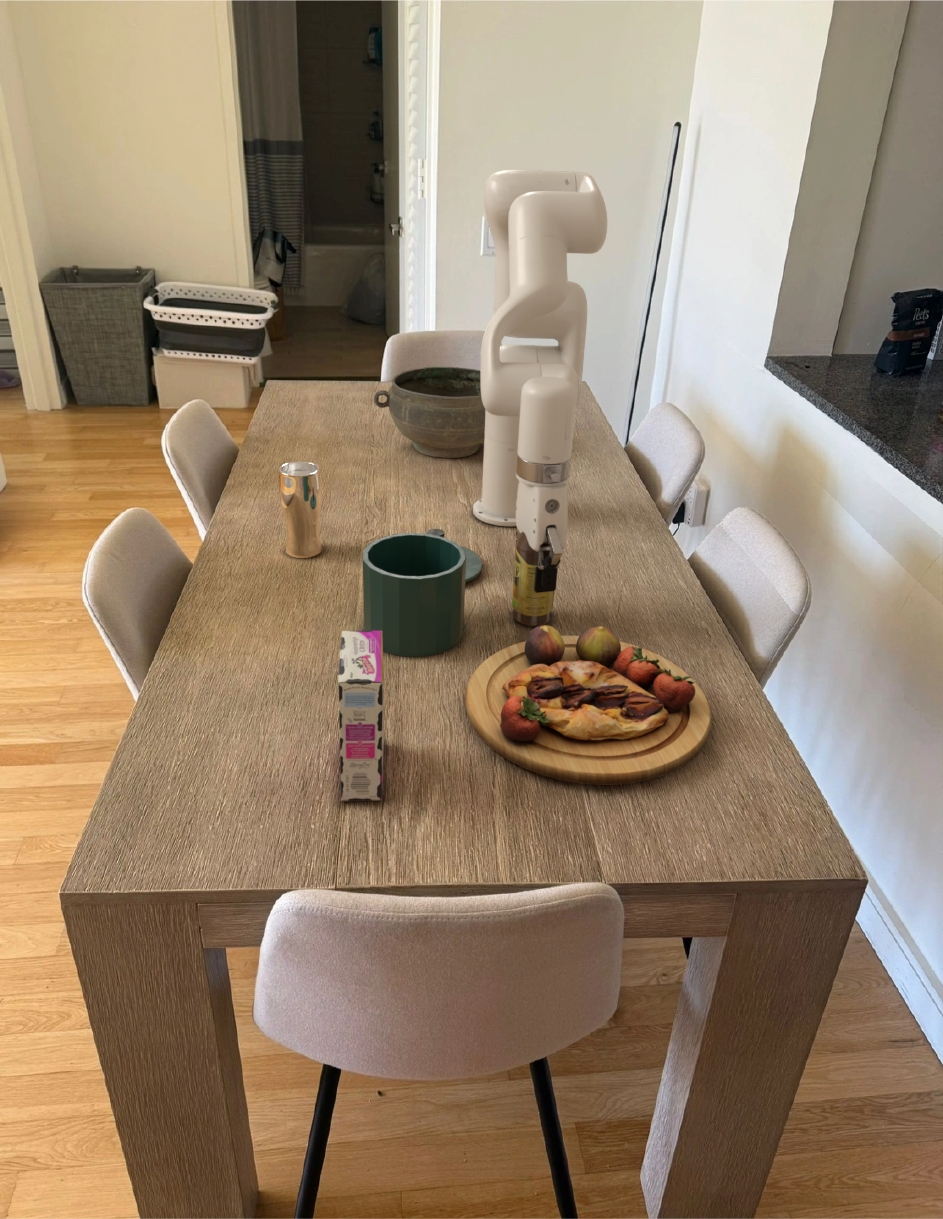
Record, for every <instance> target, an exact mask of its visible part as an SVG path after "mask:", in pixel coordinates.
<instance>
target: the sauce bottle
mask: <svg viewBox="0 0 943 1219" xmlns="http://www.w3.org/2000/svg"><path fill="white" fill-rule="evenodd" d="M516 540H517V542H516V541H515V549H514V564H513V577H512V578H513V580H512V581H513V582H512V600H511V606H512V618H513V619H514V620H515V621H516V622H518V623H519V624H521V625H524V626H526V627H539V626H543V625H546V624H547V623H549V622H550V621H551V619H552V615H553V608H554V600H555V591H551V592H541V593H536V592H535V591H534V582H535V570H536V567H538V560H537V553H536V551H535V550H533V549H532V548H531V547H530V545H529V543H528V540H527V537H526V535H525V533H524V532H521V534H520V535H519V536H518V539H517V538H516ZM547 546H549V544H548V543H545V544H542V545H541V547H547ZM549 554H550V552H543V559H545V558H546V557H547V556H550V555H549Z"/></svg>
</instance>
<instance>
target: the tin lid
mask: <svg viewBox="0 0 943 1219" xmlns="http://www.w3.org/2000/svg"><path fill="white" fill-rule="evenodd" d="M427 534H431V535H436V536H441V537H444V538H446V537H445V535H446V534H445V531H444V530H443V529H440V528H431V529H429V530H427ZM459 546H460V547H461V548H463V549H464V552H465V555H466V577H465V584H466V583H469V582H471V581H473V580H474V579H475V578H477V577H478V576H479V575H480V574H481V572H482V569H483V561H482V559H481V557H480V556H479V555H478V554H477V553H475V551H473V550H471V549H469V548H467V547H465V546H462V545H459Z"/></svg>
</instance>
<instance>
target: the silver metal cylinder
mask: <svg viewBox="0 0 943 1219" xmlns="http://www.w3.org/2000/svg"><path fill="white" fill-rule="evenodd" d="M278 495H279V496H278V497H279V502H280V507H281V513H282V515H283V518H284V520H283V521H284V523H285V528H286V542H285V553H286V554H287V555H288V556H290V557H292V558H296V559H309V558H310V559H311V558H314V557H316V556H318V555H319V554H321V552H322V551H323V550H322V549H323V548H322V543H321V538H320V534H319V526H320V517H321V510H322V501H323V489H322V478H321V472H320V466H319V465H318V464H316V463H314V462H310V461H304V460H303V461H302V460H301V461H299V460H298V461H297V460H296V461H289V462H285V463H284V464H282V465H279V468H278Z"/></svg>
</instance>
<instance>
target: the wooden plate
mask: <svg viewBox="0 0 943 1219" xmlns="http://www.w3.org/2000/svg"><path fill="white" fill-rule="evenodd" d="M464 707H465V712H466V715H467V718H468V720H469V723H470V724H471V726H472V729H474V731H475V732H476V734H477V735H478V736H479V737H480V738H481V739H482V741H483V742H484V743H485V744H486V745H487V746H488V747H489V748H490V749H491V750H493V751H494V752H496V754H499V755H500V756H501V757H503V758H504V759H506V760H508V761H509V762H511V763H513V764H515V765H517V766H518V767H521V768H523V769H525V770H527V771H530V772H533V773H536V774H538V775H542V776H544V777H548V778H551V779H554V780H559V781H564V782H568V783H575V784H583V785H595V786H597V785H599V786H616V785H617V786H618V785H629V784H637V783H642V782H646V781H650V780H654V779H657V778H660V777H663V776H666V775H668V774H670V773H673V772H674V771H676V770H678V769H680V768H681V767H683V766H684V765H687V763H689V762H691V761H692V760H693V759H694V758H695V757H696V756H697V755H698V754H699V753H700V752H701V750H702V749H703V747H705V744H706V743H707V741H708V738H709V736H710V732H711V728H712V724H713V723H712V713H711V712H712V711H711V707H710V705H709V702H708V699H707V697H706V695H705V692H704V691H703V690H702V688H701V686H699V685H698V683H697V682H696V681H695V680H694V679H693V678H692V677H691V676H690V675H689V674H688V673H687V672H686V671H685V670H683V669H681V667H679V666H678V665H676V664H675V663H673V662H672V661H670V660H668V659H667V658H666V657H663V656H661V655H659V654H657V653H656V652H653V651H650V650H649V649H647V648H643V647H640V646H637V645H634V644H631V643H629V642H628V643H627V642H623V641H620V639H619V637H618V636H617V634H616V633H615V632H614V631H612V630H611V629H609V628H607V627H604V625H599V626H593V627H590V628H588V629H586V630H584V631H582V633H581V634H580V635H561V634H560V632H559V631H558V630H557V629H556V628H555V627H553V626H550V625H546V624H545V625H542V626H535V628H533V629H532V630H531V631H530V633H529V634H528V636H527V638H526V640H525V641H522V642H518V643H515V644H513V645H510V646H507V647H505V648H503V649H500V650H499V651H497V652H495V653H493V654H492V655H490V656H489V657H486V659H485V660H483V661H482V662H481V663H480V664H479V665H478V666H477V668H476V669H475V670H474V672H473V673H472V675H471V676H470V678H469V680H468V682H467V684H466V688H465V693H464Z"/></svg>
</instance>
